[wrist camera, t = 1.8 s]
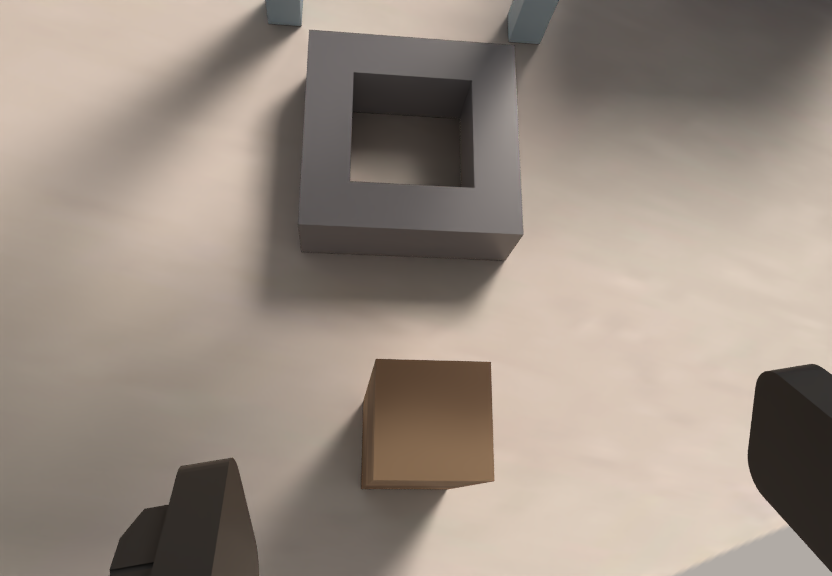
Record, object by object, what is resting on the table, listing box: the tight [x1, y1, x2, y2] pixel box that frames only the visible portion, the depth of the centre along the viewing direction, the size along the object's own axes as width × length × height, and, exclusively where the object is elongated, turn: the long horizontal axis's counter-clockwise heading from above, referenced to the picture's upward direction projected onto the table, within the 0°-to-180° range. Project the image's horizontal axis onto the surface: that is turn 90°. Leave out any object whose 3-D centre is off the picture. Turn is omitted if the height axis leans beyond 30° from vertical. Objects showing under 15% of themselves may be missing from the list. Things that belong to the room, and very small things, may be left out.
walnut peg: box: [361, 359, 494, 489], centre depth 31 cm, size 4×4×11 cm
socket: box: [298, 30, 523, 260], centre depth 39 cm, size 12×12×4 cm
